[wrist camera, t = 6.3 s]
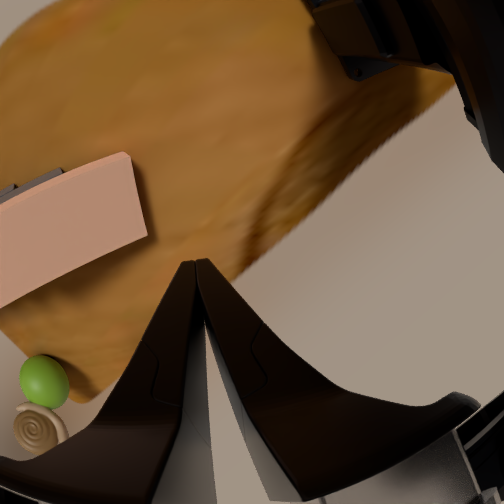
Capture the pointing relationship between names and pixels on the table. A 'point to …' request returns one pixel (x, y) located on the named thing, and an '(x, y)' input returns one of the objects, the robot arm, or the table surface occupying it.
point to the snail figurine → (41, 405)
